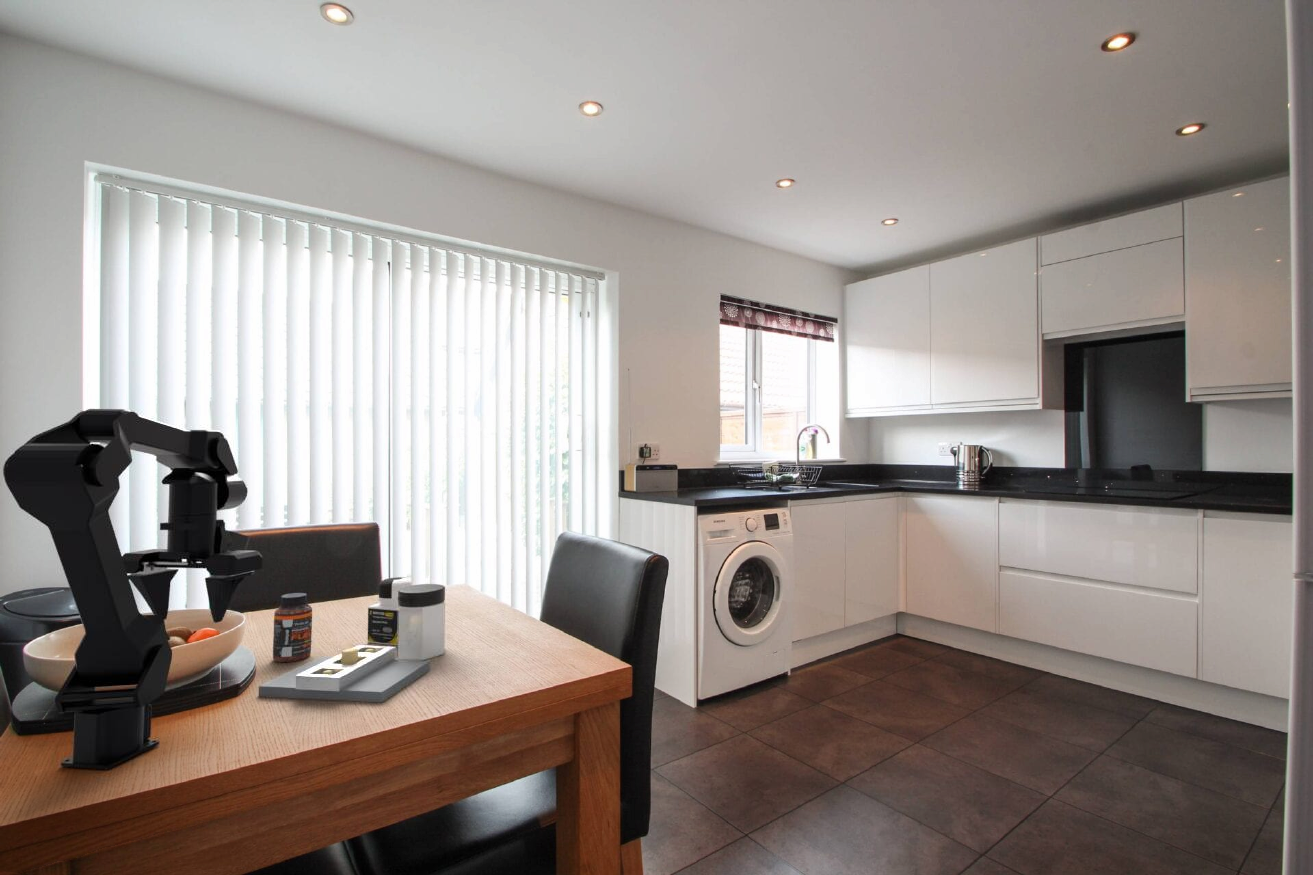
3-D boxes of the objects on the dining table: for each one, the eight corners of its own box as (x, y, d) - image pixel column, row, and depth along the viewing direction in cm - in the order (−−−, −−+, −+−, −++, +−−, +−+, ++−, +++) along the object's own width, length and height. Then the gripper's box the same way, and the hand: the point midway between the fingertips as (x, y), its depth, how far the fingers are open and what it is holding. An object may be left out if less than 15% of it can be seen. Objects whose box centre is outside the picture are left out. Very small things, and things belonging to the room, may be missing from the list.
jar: (385, 660, 107) (386, 592, 107) (409, 646, 115) (409, 583, 116) (434, 661, 106) (434, 593, 107) (453, 647, 114) (454, 583, 115)
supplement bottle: (293, 664, 105) (294, 599, 105) (264, 662, 106) (265, 597, 107) (318, 653, 111) (320, 591, 111) (291, 651, 112) (292, 590, 112)
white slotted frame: (358, 656, 104) (358, 645, 104) (396, 658, 103) (396, 646, 103) (295, 689, 89) (295, 675, 89) (338, 691, 88) (339, 677, 88)
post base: (382, 702, 88) (382, 667, 88) (258, 696, 91) (259, 662, 91) (429, 669, 102) (430, 639, 102) (321, 665, 104) (322, 636, 105)
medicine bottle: (366, 642, 117) (367, 581, 118) (392, 633, 124) (393, 574, 125) (396, 646, 115) (397, 583, 116) (421, 635, 122) (422, 576, 123)
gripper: (290, 510, 96) (288, 609, 95) (185, 509, 98) (183, 606, 97) (232, 516, 85) (229, 628, 84) (116, 515, 87) (112, 624, 86)
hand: (189, 620), depth 88 cm, fingers open, 9 cm apart
